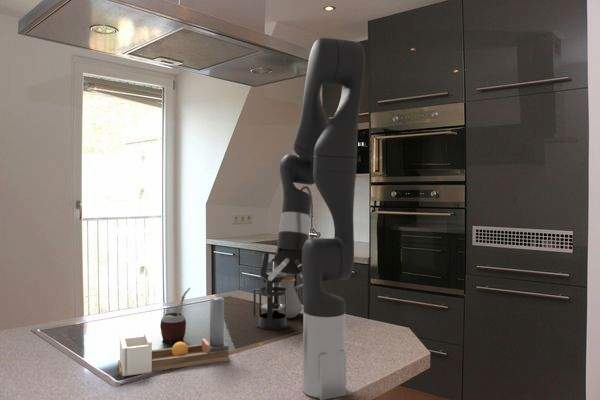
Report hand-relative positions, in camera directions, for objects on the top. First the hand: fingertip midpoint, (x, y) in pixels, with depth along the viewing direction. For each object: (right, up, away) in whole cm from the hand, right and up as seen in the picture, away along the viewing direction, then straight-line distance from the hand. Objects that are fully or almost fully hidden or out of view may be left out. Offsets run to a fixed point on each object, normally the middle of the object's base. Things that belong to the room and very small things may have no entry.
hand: (287, 299), depth 112 cm
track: (-29, -17, +6) cm, 34 cm away
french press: (-6, -18, +41) cm, 45 cm away
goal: (-37, -17, +2) cm, 41 cm away
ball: (-28, -14, +7) cm, 32 cm away
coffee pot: (+3, -18, +54) cm, 57 cm away
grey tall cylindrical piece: (-19, -16, +11) cm, 27 cm away
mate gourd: (-33, -17, +23) cm, 44 cm away
